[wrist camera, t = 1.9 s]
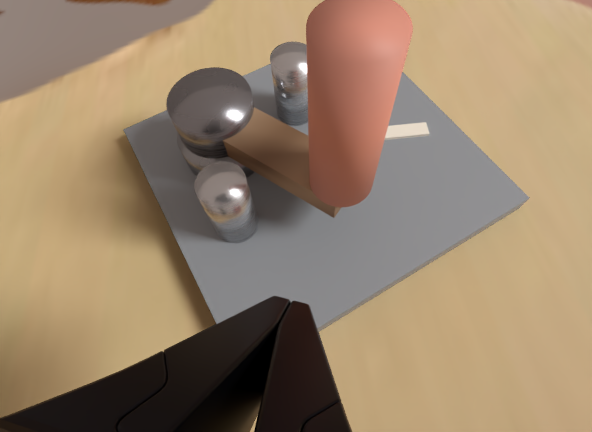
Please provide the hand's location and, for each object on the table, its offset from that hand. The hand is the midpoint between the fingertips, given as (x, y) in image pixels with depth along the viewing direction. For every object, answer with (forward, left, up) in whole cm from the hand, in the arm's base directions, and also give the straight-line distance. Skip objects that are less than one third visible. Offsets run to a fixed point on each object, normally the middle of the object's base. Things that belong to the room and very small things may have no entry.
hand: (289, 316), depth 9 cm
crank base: (+6, +10, -11) cm, 16 cm away
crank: (+4, +10, -8) cm, 13 cm away
